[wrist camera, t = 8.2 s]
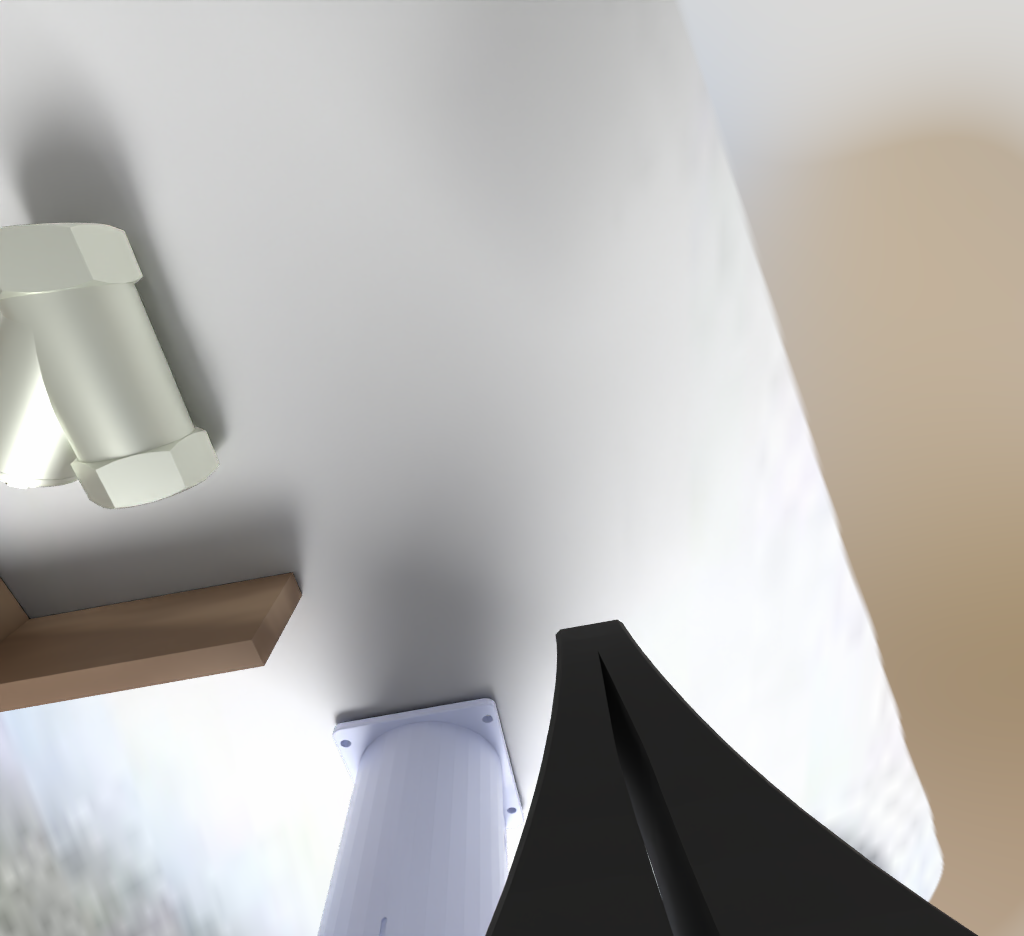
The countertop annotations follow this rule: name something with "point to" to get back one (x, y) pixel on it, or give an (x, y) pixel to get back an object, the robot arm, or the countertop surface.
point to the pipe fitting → (88, 372)
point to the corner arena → (140, 640)
